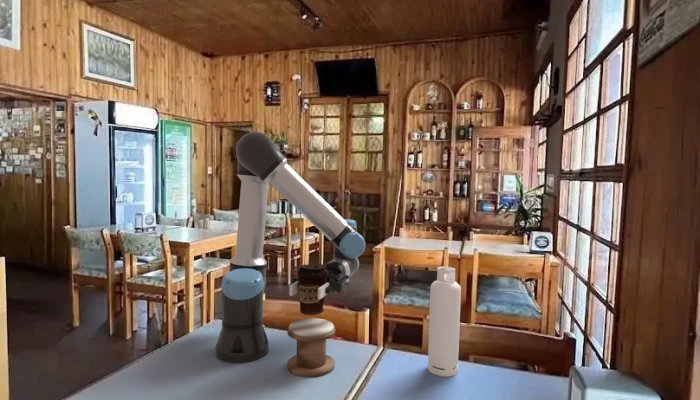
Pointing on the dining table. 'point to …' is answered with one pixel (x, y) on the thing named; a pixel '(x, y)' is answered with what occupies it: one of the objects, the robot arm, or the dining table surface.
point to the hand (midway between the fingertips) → (305, 292)
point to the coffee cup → (311, 288)
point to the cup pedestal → (311, 347)
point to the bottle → (444, 323)
